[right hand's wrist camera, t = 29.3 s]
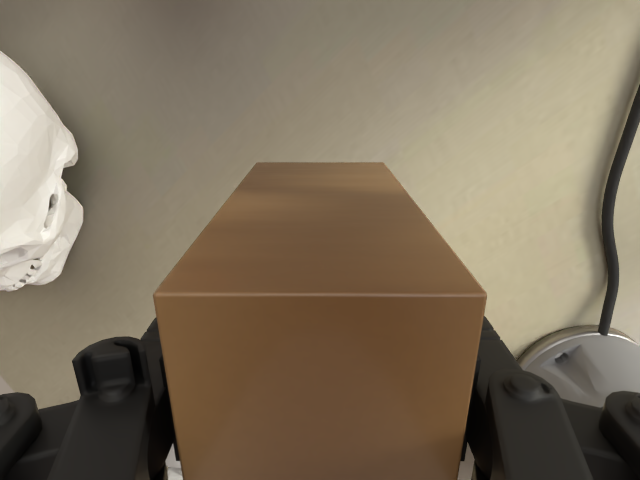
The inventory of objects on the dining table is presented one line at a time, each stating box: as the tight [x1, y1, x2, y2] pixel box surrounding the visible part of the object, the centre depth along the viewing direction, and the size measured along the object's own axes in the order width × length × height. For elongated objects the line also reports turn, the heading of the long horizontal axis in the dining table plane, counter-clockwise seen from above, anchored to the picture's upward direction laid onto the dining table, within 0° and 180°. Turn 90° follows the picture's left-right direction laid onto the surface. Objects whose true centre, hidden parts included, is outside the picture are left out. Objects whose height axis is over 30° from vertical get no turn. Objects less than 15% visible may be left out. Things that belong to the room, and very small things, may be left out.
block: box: [153, 163, 487, 480], centre depth 12 cm, size 5×7×10 cm
